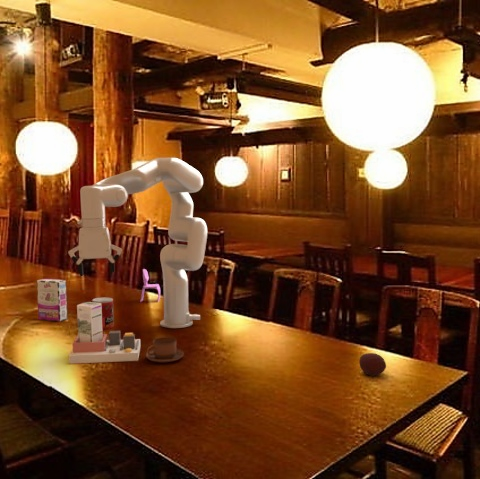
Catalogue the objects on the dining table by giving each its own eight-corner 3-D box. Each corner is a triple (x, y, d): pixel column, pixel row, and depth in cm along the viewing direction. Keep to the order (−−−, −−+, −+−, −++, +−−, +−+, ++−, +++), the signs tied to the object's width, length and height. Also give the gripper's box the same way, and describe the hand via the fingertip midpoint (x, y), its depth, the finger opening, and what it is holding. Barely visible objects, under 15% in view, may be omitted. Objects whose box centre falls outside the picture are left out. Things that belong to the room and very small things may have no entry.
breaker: (120, 342, 193) (120, 330, 193) (119, 344, 190) (119, 332, 190) (110, 342, 193) (109, 331, 193) (109, 345, 190) (108, 333, 190)
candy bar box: (68, 319, 237) (66, 279, 235) (60, 322, 232) (58, 281, 231) (46, 317, 241) (44, 278, 240) (37, 319, 237) (36, 280, 235)
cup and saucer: (166, 368, 175) (166, 348, 175) (137, 361, 182) (137, 342, 182) (191, 357, 185) (191, 338, 185) (163, 351, 192) (163, 333, 191)
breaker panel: (140, 346, 198) (140, 330, 197) (137, 360, 182) (137, 343, 181) (77, 348, 195) (76, 332, 195) (69, 363, 180) (68, 346, 179)
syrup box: (103, 346, 189) (102, 302, 188) (92, 351, 184) (90, 306, 183) (89, 344, 192) (88, 301, 190) (77, 349, 186) (76, 304, 185)
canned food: (109, 330, 219) (108, 301, 218) (89, 329, 221) (88, 301, 220) (117, 325, 227) (116, 297, 225) (98, 324, 228) (97, 297, 227)
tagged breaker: (134, 346, 189) (134, 332, 188) (134, 348, 186) (134, 334, 186) (124, 346, 189) (123, 332, 188) (123, 349, 186) (123, 335, 185)
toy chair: (158, 302, 268) (157, 270, 267) (139, 302, 268) (138, 270, 267) (161, 298, 276) (160, 267, 275) (142, 299, 276) (141, 267, 275)
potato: (381, 369, 173) (381, 349, 172) (389, 378, 164) (389, 357, 164) (356, 369, 172) (357, 349, 172) (363, 379, 164) (364, 358, 163)
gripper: (64, 225, 185) (68, 278, 187) (120, 223, 187) (122, 275, 189) (68, 223, 192) (71, 274, 194) (121, 221, 195) (124, 271, 197)
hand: (96, 275), depth 192 cm, fingers open, 9 cm apart
